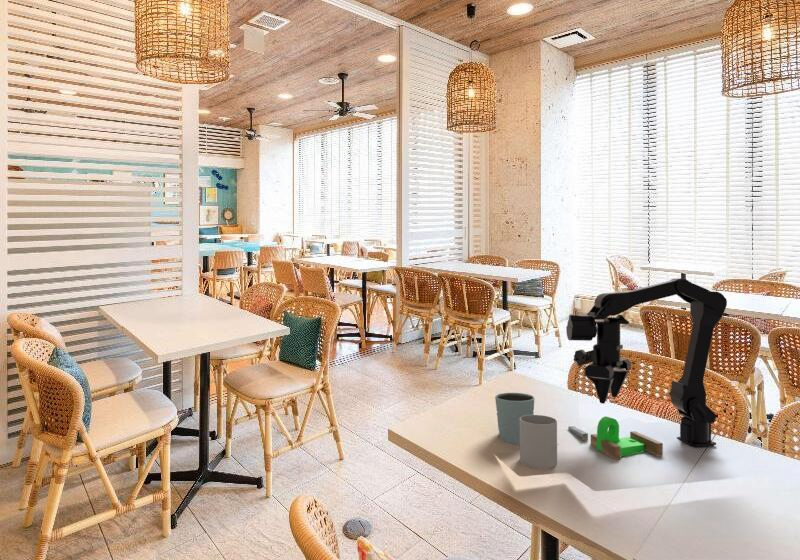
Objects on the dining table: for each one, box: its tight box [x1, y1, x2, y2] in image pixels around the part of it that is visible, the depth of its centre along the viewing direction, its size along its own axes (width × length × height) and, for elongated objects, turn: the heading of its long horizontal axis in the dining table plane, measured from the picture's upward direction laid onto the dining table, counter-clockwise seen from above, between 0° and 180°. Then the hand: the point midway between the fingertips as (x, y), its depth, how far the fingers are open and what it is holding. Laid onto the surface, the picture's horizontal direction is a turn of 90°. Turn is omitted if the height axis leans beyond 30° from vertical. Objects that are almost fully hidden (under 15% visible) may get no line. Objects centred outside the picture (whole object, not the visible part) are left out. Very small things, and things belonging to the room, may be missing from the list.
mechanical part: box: [595, 416, 645, 457], centre depth 124 cm, size 12×6×8 cm, turn 117°
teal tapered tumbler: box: [494, 392, 535, 446], centre depth 131 cm, size 10×10×12 cm
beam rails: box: [590, 430, 664, 461], centre depth 124 cm, size 13×10×3 cm
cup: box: [519, 414, 558, 470], centre depth 116 cm, size 8×8×10 cm
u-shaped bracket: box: [567, 425, 589, 442], centre depth 132 cm, size 12×8×3 cm, turn 102°
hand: (608, 400), depth 130 cm, fingers open, 9 cm apart
